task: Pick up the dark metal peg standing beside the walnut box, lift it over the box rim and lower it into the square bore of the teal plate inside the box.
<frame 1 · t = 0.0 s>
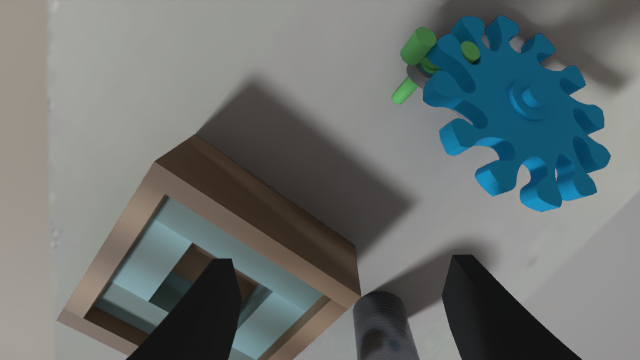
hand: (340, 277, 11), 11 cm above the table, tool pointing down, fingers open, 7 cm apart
bore box: (228, 256, 23), on the table
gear: (473, 90, 19), on the table
peg: (378, 311, 25), on the table
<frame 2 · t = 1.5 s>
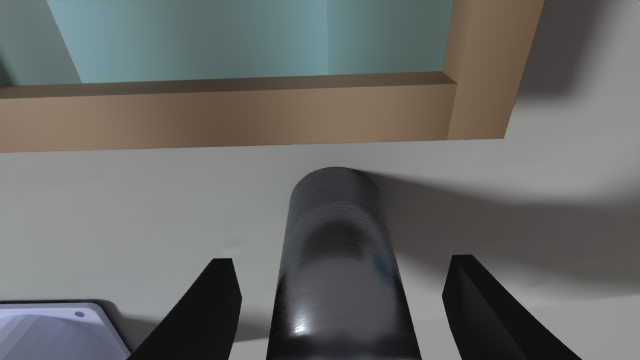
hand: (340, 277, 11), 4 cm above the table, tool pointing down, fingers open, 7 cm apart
peg: (335, 206, 14), on the table
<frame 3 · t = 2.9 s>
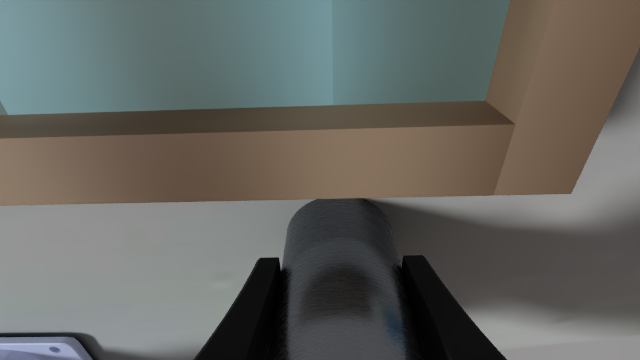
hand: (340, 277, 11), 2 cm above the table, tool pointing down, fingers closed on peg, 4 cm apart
peg: (338, 237, 12), on the table, touching gripper
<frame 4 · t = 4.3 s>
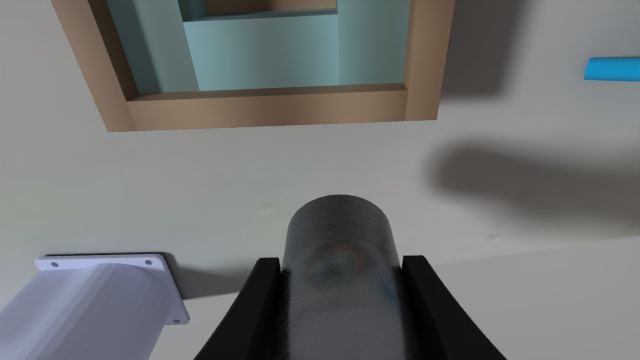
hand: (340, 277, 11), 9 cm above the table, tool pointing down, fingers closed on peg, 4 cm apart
peg: (338, 236, 12), point 7 cm above the table, touching gripper
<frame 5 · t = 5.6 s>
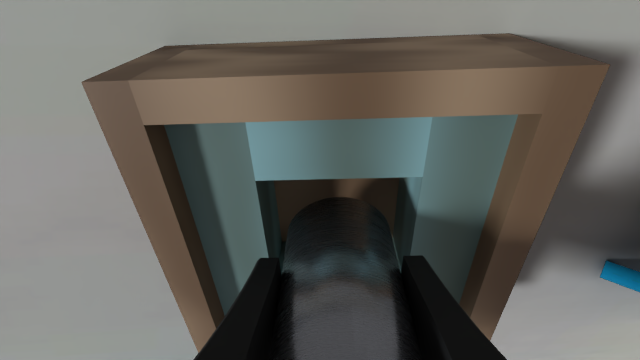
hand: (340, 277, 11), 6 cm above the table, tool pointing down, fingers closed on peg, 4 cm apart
bore box: (335, 183, 16), on the table
peg: (338, 237, 12), point 4 cm above the table, touching gripper
when the fingers open (5 cm above the table, at t = 6.2 s): peg drops 2 cm, resting on bore box.
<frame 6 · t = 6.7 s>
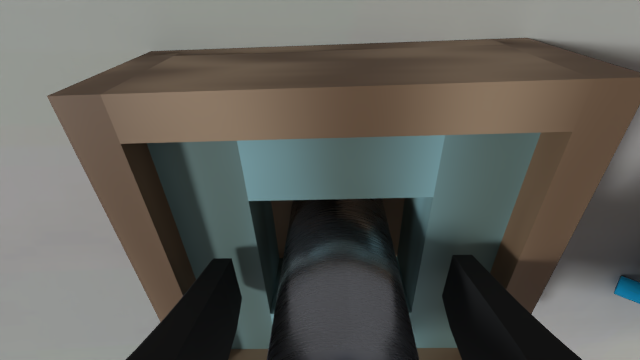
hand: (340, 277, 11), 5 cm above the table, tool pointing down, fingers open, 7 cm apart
bore box: (336, 197, 15), on the table
peg: (337, 213, 14), point 1 cm above the table, touching bore box
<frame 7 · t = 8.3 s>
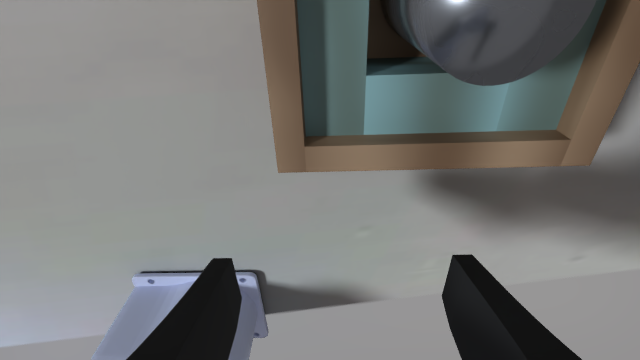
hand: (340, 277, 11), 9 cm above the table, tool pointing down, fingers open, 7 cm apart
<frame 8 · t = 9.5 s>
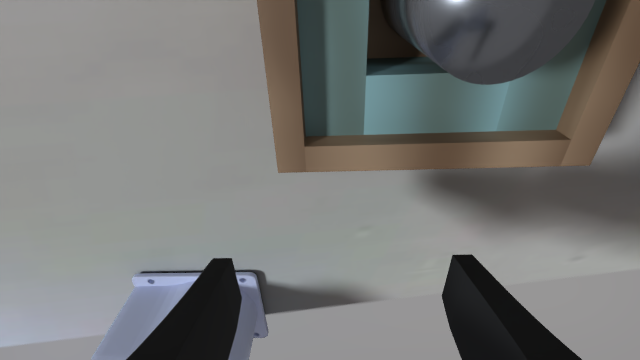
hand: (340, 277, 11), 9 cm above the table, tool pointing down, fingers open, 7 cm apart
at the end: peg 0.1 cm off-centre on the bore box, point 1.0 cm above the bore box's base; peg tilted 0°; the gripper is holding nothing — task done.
